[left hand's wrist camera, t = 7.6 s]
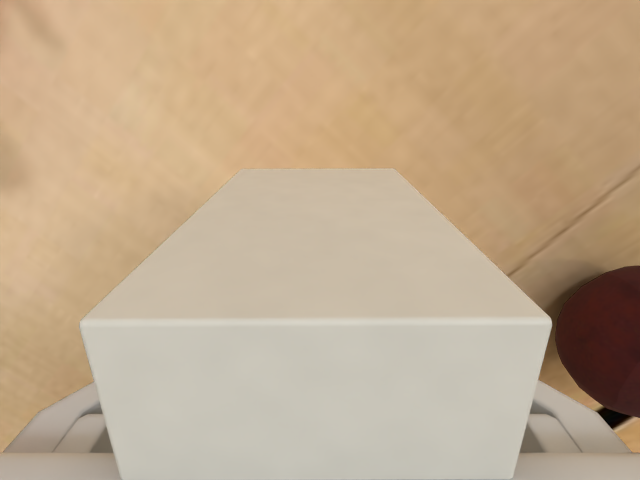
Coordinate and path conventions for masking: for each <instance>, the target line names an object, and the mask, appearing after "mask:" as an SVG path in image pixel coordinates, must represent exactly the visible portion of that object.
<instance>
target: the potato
mask: <svg viewBox="0 0 640 480" xmlns="http://www.w3.org/2000/svg"><path fill="white" fill-rule="evenodd" d="M555 340H556V345H557V350H558V354H559V356H560V359H561V362H562V364H563V365H564V367H565V368H566V369H567V371H568V372H569V374H570V375H571V377H572V378H573V379H574V381H575V382H576V383H577V385H578V386H579V387H580V388H581V389H582V390H583V391H585V392H586V393H587V394H588V395H590V396H591V397H592V398H593V399H595V400H596V401H597V402H599V403H600V404H602V405H603V406H604V407H606V408H607V409H611V410H614V411H617V412H620V413H623V414H627V415H631V416H635V417H638V418H640V266H628V267H623V268H620V269H616V270H613V271H610V272H606V273H604V274H602V275H601V276H599V277H597V278H596V279H594V280H592V281H590V282H588V283H587V284H585V285H583V286H582V287H581V288H580V289H579V290H578V291H577V292H576V293H575V294H574V295H573V296H572V297H571V298H570V299H569V300H568V301H567V302H566V303H565V304H564V306H563V308H562V310H561V313H560V315H559V317H558V319H557V327H556V338H555Z"/></svg>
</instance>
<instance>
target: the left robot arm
mask: <svg viewBox="0 0 640 480" xmlns="http://www.w3.org/2000/svg"><path fill="white" fill-rule="evenodd" d="M0 480H122V479H121V478H120V474H119V471H118V467H117V463H116V460H115V456H114V452H113V449H112V445H111V442H110V438H109V434H108V431H107V427H106V423H105V420H104V416H103V412H102V409H101V405H100V401H99V398H98V394H97V390H96V387H95V383H94V382H92V383H90V384H89V385H87V386H85V387H83V388H81V389H79V390H78V391H76V392H74V393H72V394H70V395H69V396H67V397H65V398H63V399H61V400H60V401H58V402H56V403H54V404H52V405H51V406H49V407H47V408H45V409H43V410H41V411H40V412H38V413H37V414H36V415H35V416H34V418H33V419H32V420H31V421H30V422H29V423H28V424H27V425H26V427H25V428H24V429H23V430H22V431H21V432H20V433H19V434H18V435H17V437H16V438H15V439H14V440H13V441H12V442H11V443H10V444H9V446H8V447H7V448H6V449H5V450H4V451H3V452H2V453H0ZM366 480H640V453H632V452H631V451H630V449H629V448H628V447H627V446H626V445H625V444H624V443H623V441H622V440H621V439H620V438H619V437H618V436H617V435H616V433H615V432H614V431H613V430H612V429H611V428H610V427H609V425H608V424H607V423H606V422H605V421H604V420H603V419H602V417H601V416H600V415H599V414H598V413H597V412H595V411H593V410H591V409H590V408H588V407H586V406H584V405H583V404H581V403H579V402H577V401H575V400H574V399H572V398H570V397H568V396H566V395H565V394H563V393H561V392H559V391H558V390H556V389H554V388H552V387H550V386H549V385H547V384H545V383H543V382H541V381H540V380H538V382H537V386H536V390H535V394H534V398H533V401H532V405H531V409H530V413H529V417H528V421H527V425H526V429H525V432H524V436H523V440H522V444H521V448H520V452H519V456H518V460H517V464H516V467H515V471H514V475H513V478H511V479H366Z"/></svg>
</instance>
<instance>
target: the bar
mask: <svg viewBox="0 0 640 480" xmlns="http://www.w3.org/2000/svg"><path fill="white" fill-rule="evenodd" d="M79 328H80V332H81V336H82V339H83V343H84V347H85V350H86V354H87V358H88V361H89V365H90V368H91V372H92V376H93V379H94V383H95V387H96V390H97V394H98V398H99V401H100V405H101V409H102V412H103V416H104V420H105V423H106V427H107V431H108V434H109V438H110V442H111V445H112V449H113V452H114V456H115V460H116V463H117V467H118V471H119V474H120V478H121V479H122V480H366V479H511V478H513V475H514V471H515V467H516V464H517V460H518V456H519V452H520V448H521V444H522V440H523V436H524V432H525V429H526V425H527V421H528V417H529V413H530V409H531V405H532V401H533V398H534V394H535V390H536V386H537V382H538V378H539V374H540V370H541V366H542V363H543V359H544V355H545V351H546V347H547V343H548V339H549V335H550V332H551V328H552V320H551V318H550V317H549V316H548V315H547V314H546V313H545V312H544V311H543V310H542V309H541V308H540V307H539V306H538V305H537V304H536V303H535V302H534V301H533V300H531V299H530V298H529V297H528V296H527V295H526V294H525V293H524V292H523V291H522V290H521V289H520V288H519V287H518V286H517V285H516V284H515V283H514V282H513V281H512V280H511V279H509V278H508V277H507V276H506V275H505V274H504V273H503V272H502V271H501V270H500V269H499V268H498V267H497V266H496V265H495V264H494V263H493V262H492V261H491V260H490V259H489V258H487V257H486V256H485V255H484V254H483V253H482V252H481V251H480V250H479V249H478V248H477V247H476V246H475V245H474V244H473V243H472V242H471V241H470V240H469V239H468V238H467V237H465V236H464V235H463V234H462V233H461V232H460V231H459V230H458V229H457V228H456V227H455V226H454V225H453V224H452V223H451V222H450V221H449V220H448V219H447V218H446V217H445V216H443V215H442V214H441V213H440V212H439V211H438V210H437V209H436V208H435V207H434V206H433V205H432V204H431V203H430V202H429V201H428V200H427V199H426V198H425V197H424V196H423V195H421V194H420V193H419V192H418V191H417V190H416V189H415V188H414V187H413V186H412V185H411V184H410V183H409V182H408V181H407V180H406V179H405V178H404V177H403V176H402V175H401V174H399V173H398V172H397V171H396V170H395V169H393V168H392V169H241V170H240V171H238V172H237V173H236V174H235V175H234V176H233V177H232V178H231V179H230V180H229V181H228V182H227V183H226V184H225V185H224V186H223V187H221V188H220V189H219V190H218V191H217V192H216V193H215V194H214V195H213V196H212V197H211V198H210V199H209V200H208V201H207V202H205V203H204V204H203V205H202V206H201V207H200V208H199V209H198V210H197V211H196V212H195V213H194V214H193V215H192V216H191V217H190V218H188V219H187V220H186V221H185V222H184V223H183V224H182V225H181V226H180V227H179V228H178V229H177V230H176V231H175V232H174V233H172V234H171V235H170V236H169V237H168V238H167V239H166V240H165V241H164V242H163V243H162V244H161V245H160V246H159V247H158V248H157V249H155V250H154V251H153V252H152V253H151V254H150V255H149V256H148V257H147V258H146V259H145V260H144V261H143V262H142V263H141V264H139V265H138V266H137V267H136V268H135V269H134V270H133V271H132V272H131V273H130V274H129V275H128V276H127V277H126V278H125V279H124V280H122V281H121V282H120V283H119V284H118V285H117V286H116V287H115V288H114V289H113V290H112V291H111V292H110V293H109V294H108V295H106V296H105V297H104V298H103V299H102V300H101V301H100V302H99V303H98V304H97V305H96V306H95V307H94V308H93V309H92V310H91V311H89V312H88V313H87V314H86V315H85V316H84V317H83V318H82V319H81V321H80V324H79Z"/></svg>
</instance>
